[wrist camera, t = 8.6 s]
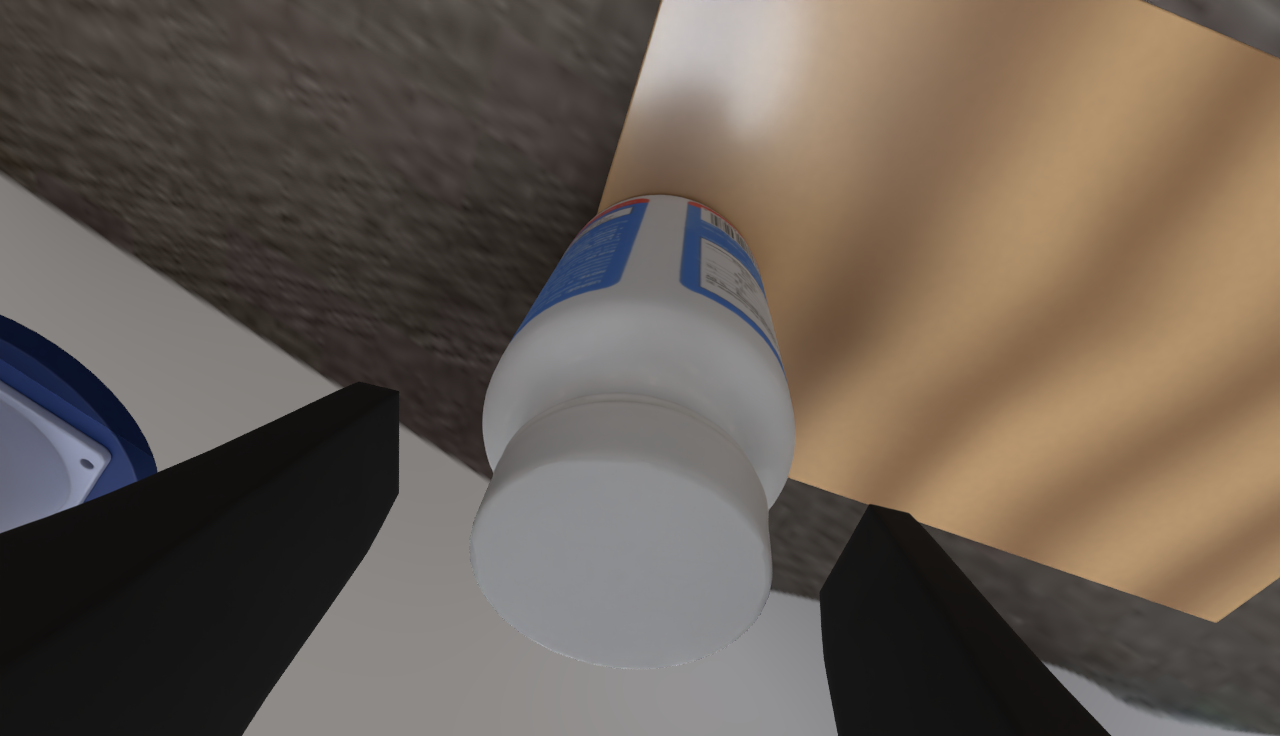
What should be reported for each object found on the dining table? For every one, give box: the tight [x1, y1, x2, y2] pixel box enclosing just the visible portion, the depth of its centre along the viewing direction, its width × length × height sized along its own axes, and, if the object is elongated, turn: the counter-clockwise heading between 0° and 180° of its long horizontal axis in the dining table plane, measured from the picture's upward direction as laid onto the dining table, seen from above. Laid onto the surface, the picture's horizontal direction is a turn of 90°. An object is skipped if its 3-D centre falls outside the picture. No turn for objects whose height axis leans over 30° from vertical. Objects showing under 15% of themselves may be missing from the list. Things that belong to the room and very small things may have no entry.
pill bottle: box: [470, 195, 795, 669], centre depth 12 cm, size 6×5×10 cm
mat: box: [597, 0, 1280, 623], centre depth 16 cm, size 24×14×1 cm, turn 71°
